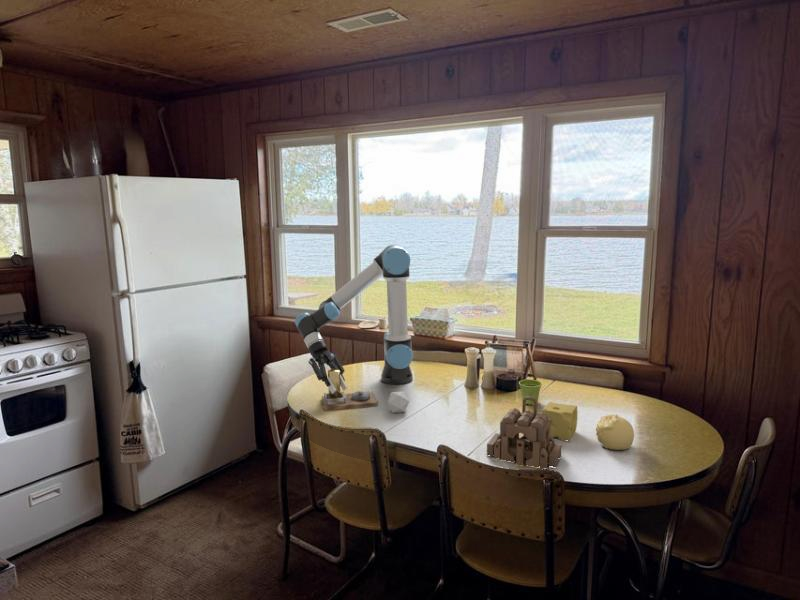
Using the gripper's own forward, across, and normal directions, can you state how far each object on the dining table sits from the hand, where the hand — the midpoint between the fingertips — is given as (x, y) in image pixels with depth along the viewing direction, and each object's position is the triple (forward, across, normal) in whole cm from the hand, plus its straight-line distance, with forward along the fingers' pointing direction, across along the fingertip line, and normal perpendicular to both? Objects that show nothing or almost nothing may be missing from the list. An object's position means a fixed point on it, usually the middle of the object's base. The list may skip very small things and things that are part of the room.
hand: (339, 390), depth 221 cm
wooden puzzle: (+61, -16, +51) cm, 81 cm away
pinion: (0, 0, -5) cm, 5 cm away
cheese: (+60, -39, +50) cm, 88 cm away
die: (+20, -13, +10) cm, 26 cm away
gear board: (+4, -5, -5) cm, 9 cm away
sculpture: (+73, -44, +63) cm, 106 cm away
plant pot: (+43, -58, +33) cm, 79 cm away
